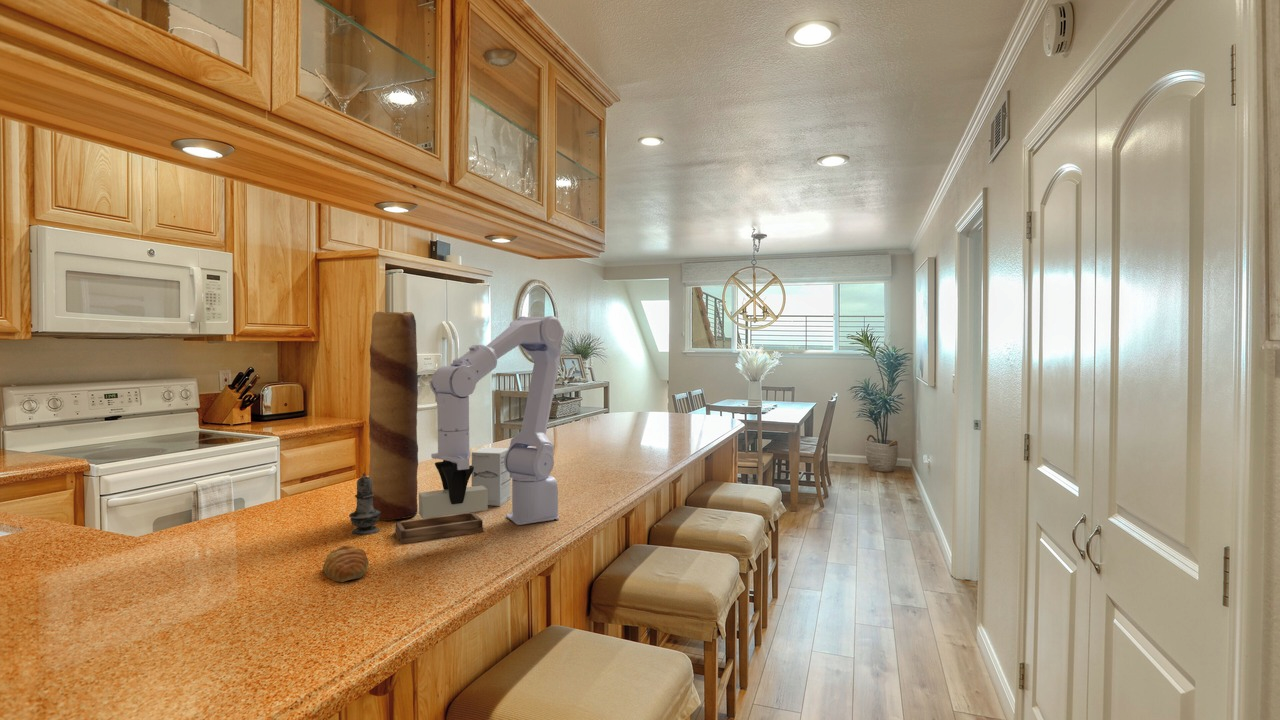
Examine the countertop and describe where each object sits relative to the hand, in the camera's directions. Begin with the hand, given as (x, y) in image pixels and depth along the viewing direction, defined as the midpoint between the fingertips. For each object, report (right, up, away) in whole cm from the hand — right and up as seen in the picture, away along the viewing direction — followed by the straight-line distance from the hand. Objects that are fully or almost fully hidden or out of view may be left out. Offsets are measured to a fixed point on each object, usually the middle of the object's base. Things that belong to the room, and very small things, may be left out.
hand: (454, 500), depth 119 cm
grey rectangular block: (0, -2, 0) cm, 2 cm away
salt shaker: (-21, -8, +9) cm, 24 cm away
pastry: (-14, -9, -14) cm, 22 cm away
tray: (-5, -8, +8) cm, 13 cm away
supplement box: (0, -8, +32) cm, 32 cm away
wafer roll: (-19, -8, +20) cm, 29 cm away
